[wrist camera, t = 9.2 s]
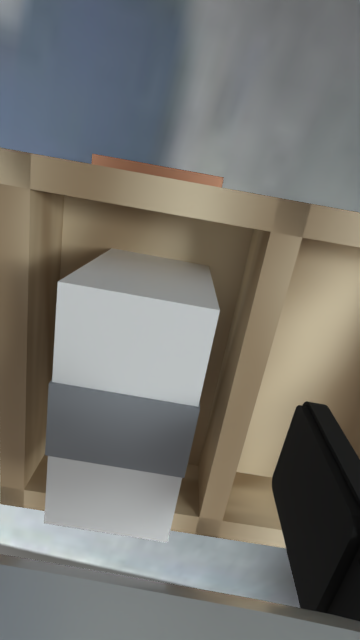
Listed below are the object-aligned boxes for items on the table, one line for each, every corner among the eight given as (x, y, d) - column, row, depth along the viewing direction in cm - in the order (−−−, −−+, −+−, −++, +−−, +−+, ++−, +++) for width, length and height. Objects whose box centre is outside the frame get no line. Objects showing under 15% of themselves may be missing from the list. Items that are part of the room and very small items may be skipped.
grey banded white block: (209, 265, 14) (222, 311, 8) (176, 426, 17) (168, 546, 11) (110, 247, 14) (54, 281, 8) (93, 412, 17) (41, 525, 11)
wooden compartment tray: (482, 231, 14) (587, 242, 10) (361, 498, 19) (403, 571, 15) (50, 153, 14) (-4, 135, 10) (39, 446, 19) (0, 509, 15)
